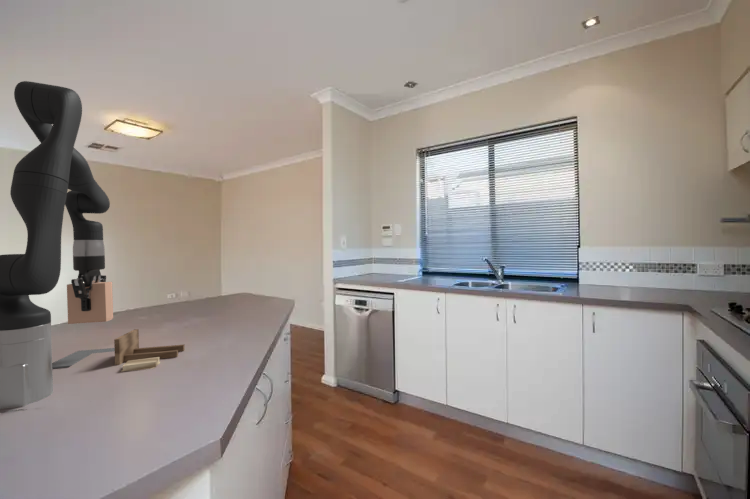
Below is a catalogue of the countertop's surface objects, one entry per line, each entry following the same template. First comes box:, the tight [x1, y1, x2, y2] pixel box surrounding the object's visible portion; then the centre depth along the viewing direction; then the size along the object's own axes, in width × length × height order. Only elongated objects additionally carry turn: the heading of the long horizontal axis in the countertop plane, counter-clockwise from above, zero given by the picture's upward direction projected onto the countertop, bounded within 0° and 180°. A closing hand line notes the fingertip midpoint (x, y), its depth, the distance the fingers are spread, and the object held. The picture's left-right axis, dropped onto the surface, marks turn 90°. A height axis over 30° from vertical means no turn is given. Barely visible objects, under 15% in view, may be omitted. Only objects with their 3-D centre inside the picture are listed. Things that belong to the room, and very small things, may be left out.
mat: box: [52, 347, 115, 370], centre depth 103 cm, size 16×16×1 cm
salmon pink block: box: [66, 281, 114, 325], centre depth 103 cm, size 4×10×12 cm, turn 103°
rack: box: [113, 328, 185, 366], centre depth 102 cm, size 12×15×8 cm
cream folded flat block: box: [120, 361, 161, 372], centre depth 93 cm, size 5×8×2 cm, turn 104°
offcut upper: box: [122, 357, 161, 372], centre depth 93 cm, size 5×8×2 cm, turn 113°
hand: (90, 309), depth 103 cm, fingers closed on salmon pink block, 4 cm apart
